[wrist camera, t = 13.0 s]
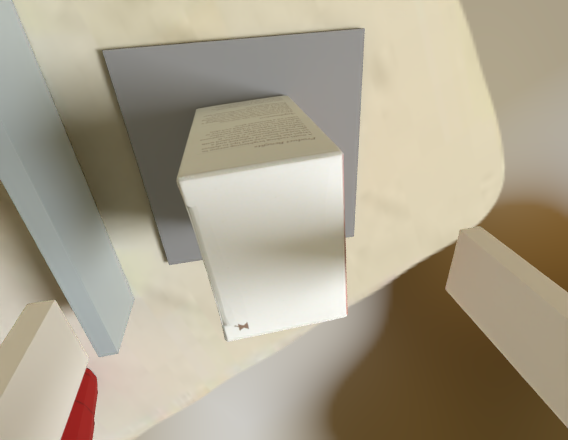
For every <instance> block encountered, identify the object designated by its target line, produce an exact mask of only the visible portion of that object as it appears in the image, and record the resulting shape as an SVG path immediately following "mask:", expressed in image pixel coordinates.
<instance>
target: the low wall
mask: <svg viewBox="0 0 568 440" xmlns="http://www.w3.org/2000/svg"><path fill="white" fill-rule="evenodd" d="M0 180H1V181H2V183H3V185H4V187H5V189H6V190H7V192H8V194H9V196H10V198H11V199H12V201H13V203H14V205H15V207H16V209H17V210H18V212H19V214H20V216H21V218H22V219H23V221H24V223H25V225H26V227H27V228H28V230H29V232H30V234H31V236H32V237H33V239H34V241H35V243H36V245H37V246H38V248H39V250H40V252H41V254H42V255H43V257H44V259H45V261H46V263H47V264H48V266H49V268H50V270H51V272H52V274H53V275H54V277H55V279H56V281H57V283H58V284H59V286H60V288H61V290H62V292H63V293H64V295H65V297H66V299H67V301H68V302H69V304H70V306H71V308H72V310H73V311H74V313H75V315H76V317H77V319H78V320H79V322H80V324H81V326H82V328H83V329H84V331H85V333H86V335H87V337H88V339H89V340H90V342H91V344H92V346H93V348H94V349H95V351H96V353H97V355H98V357H102V356H108V355H113V354H118V353H119V349H120V346H121V343H122V339H123V336H124V332H125V329H126V326H127V322H128V319H129V315H130V312H131V309H132V305H133V302H134V297H133V295H132V292H131V290H130V287H129V285H128V282H127V280H126V278H125V275H124V273H123V270H122V268H121V265H120V263H119V260H118V258H117V256H116V253H115V251H114V248H113V246H112V243H111V241H110V238H109V236H108V234H107V231H106V229H105V226H104V224H103V221H102V219H101V216H100V214H99V212H98V209H97V207H96V204H95V202H94V199H93V197H92V195H91V192H90V190H89V187H88V185H87V182H86V180H85V177H84V175H83V173H82V170H81V168H80V165H79V163H78V160H77V158H76V155H75V153H74V151H73V148H72V146H71V143H70V141H69V138H68V136H67V133H66V131H65V129H64V126H63V124H62V121H61V119H60V116H59V114H58V111H57V109H56V107H55V104H54V102H53V99H52V97H51V94H50V92H49V89H48V87H47V85H46V82H45V80H44V77H43V75H42V72H41V70H40V68H39V65H38V63H37V60H36V58H35V55H34V53H33V50H32V48H31V46H30V43H29V41H28V38H27V36H26V33H25V31H24V28H23V26H22V24H21V21H20V19H19V16H18V14H17V11H16V9H15V6H14V4H13V2H12V0H0Z"/></svg>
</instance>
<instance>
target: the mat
mask: <svg viewBox="0 0 568 440" xmlns="http://www.w3.org/2000/svg"><path fill="white" fill-rule="evenodd" d="M364 32H365V29H364V28H361V29H349V30H337V31H325V32H313V33H301V34H289V35H277V36H265V37H253V38H241V39H229V40H217V41H205V42H193V43H182V44H170V45H158V46H146V47H134V48H122V49H110V50H102V52H103V55H104V58H105V61H106V64H107V68H108V71H109V74H110V77H111V80H112V84H113V87H114V90H115V93H116V96H117V100H118V103H119V106H120V109H121V112H122V116H123V119H124V122H125V125H126V128H127V132H128V135H129V138H130V141H131V144H132V148H133V151H134V154H135V157H136V160H137V164H138V167H139V170H140V173H141V176H142V180H143V183H144V186H145V189H146V192H147V196H148V199H149V202H150V205H151V208H152V212H153V215H154V218H155V221H156V224H157V228H158V231H159V234H160V237H161V240H162V244H163V247H164V250H165V253H166V256H167V260H168V263H169V265H173V264H179V263H185V262H192V261H198V260H203V259H202V255H201V252H200V249H199V245H198V242H197V239H196V235H195V232H194V229H193V226H192V223H191V220H190V217H189V214H188V211H187V209H186V206H185V203H184V201H183V198H182V195H181V193H180V190H179V188H178V185H177V181H176V180H177V175H178V172H179V168H180V165H181V161H182V158H183V154H184V151H185V147H186V143H187V140H188V137H189V133H190V129H191V126H192V123H193V119H194V116H195V112H196V109H198V108H204V107H210V106H216V105H222V104H229V103H236V102H242V101H249V100H255V99H262V98H269V97H276V96H284V95H287V96H289V97H290V98H291V99H292V101H293V102H294V103H295V104H297V106H298V107H299V108H300V109H301V110H302V111H303V112H304V113H305V114H306V115H307V116H308V117H309V118H310V119H311V120H312V121H313V122H314V123H315V124H316V125H317V126H318V127H319V128H320V129H321V130H322V131H323V132H324V133H325V134H326V135H327V136H328V137H329V138H330V139H331V140H332V141H333V142H334V143H335V144H336V145H337V146H338V147H339V148H340V149H341V151H342V152H343V153H344V160H343V165H344V205H345V238H346V237H353V236H354V224H355V205H356V186H357V167H358V147H359V128H360V109H361V90H362V71H363V51H364Z"/></svg>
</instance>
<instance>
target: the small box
mask: <svg viewBox="0 0 568 440" xmlns="http://www.w3.org/2000/svg"><path fill="white" fill-rule="evenodd" d="M343 160H344V153H343V152H342V151H341V149H340V148H339V147H338V146H337V145H336V144H335V143H334V142H333V141H332V140H331V139H330V138H329V137H328V136H327V135H326V134H325V133H324V132H323V131H322V130H321V129H320V128H319V127H318V126H317V125H316V124H315V123H314V122H313V121H312V120H311V119H310V118H309V117H308V116H307V115H306V114H305V113H304V112H303V111H302V110H301V109H300V108H299V107H298V106H297V104H295V103H294V102H293V101H292V99H291V98H290V97H289V96H287V95H284V96H276V97H269V98H262V99H255V100H249V101H242V102H236V103H229V104H222V105H216V106H210V107H204V108H198V109H196V112H195V116H194V119H193V123H192V126H191V129H190V133H189V137H188V140H187V143H186V147H185V151H184V154H183V158H182V161H181V165H180V168H179V172H178V175H177V180H176V181H177V185H178V188H179V190H180V193H181V195H182V198H183V201H184V203H185V206H186V209H187V211H188V214H189V217H190V220H191V223H192V226H193V229H194V232H195V235H196V239H197V242H198V245H199V249H200V252H201V255H202V259H203V262H204V265H205V268H206V271H207V274H208V278H209V281H210V284H211V288H212V291H213V295H214V298H215V301H216V305H217V308H218V312H219V316H220V320H221V324H222V328H223V333H224V338H225V340H226V341H234V340H239V339H243V338H249V337H254V336H258V335H263V334H268V333H273V332H277V331H282V330H287V329H292V328H296V327H301V326H306V325H310V324H315V323H320V322H324V321H329V320H334V319H337V318H342V317H346V316H347V314H348V312H347V280H346V243H345V205H344V165H343Z"/></svg>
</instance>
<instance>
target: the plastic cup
mask: <svg viewBox="0 0 568 440" xmlns="http://www.w3.org/2000/svg"><path fill="white" fill-rule="evenodd" d="M97 394H98V390H97V377H96V376H95V375H94V374H93V373H92V371H91V370H89V369H87V368H86V370H85V372H84V375H83V378H82V381H81V384H80V387H79V389H78V392H77V395H76V398H75V401H74V403H73V406H72V409H71V412H70V415H69V417H68V420H67V423H66V426H65V429H64V432H63V434H62V437H61V440H92V438H93V431H94V424H95V423H94V415H95V408H96V401H97Z"/></svg>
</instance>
